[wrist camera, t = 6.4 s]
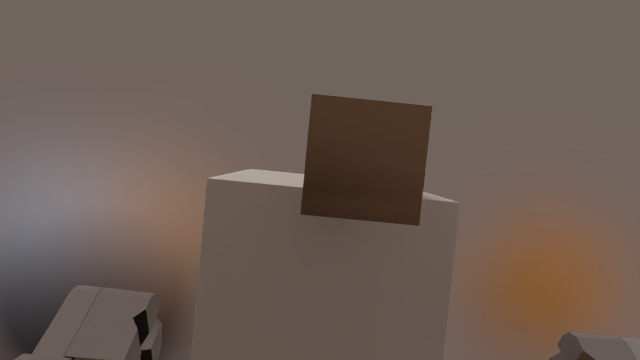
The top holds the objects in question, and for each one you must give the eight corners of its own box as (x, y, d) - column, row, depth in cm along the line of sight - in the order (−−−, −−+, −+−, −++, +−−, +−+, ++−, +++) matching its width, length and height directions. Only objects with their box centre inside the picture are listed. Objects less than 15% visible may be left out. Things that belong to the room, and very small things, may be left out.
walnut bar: (419, 225, 13) (432, 106, 12) (299, 214, 12) (311, 94, 12) (338, 176, 44) (341, 142, 44) (304, 173, 44) (307, 139, 44)
